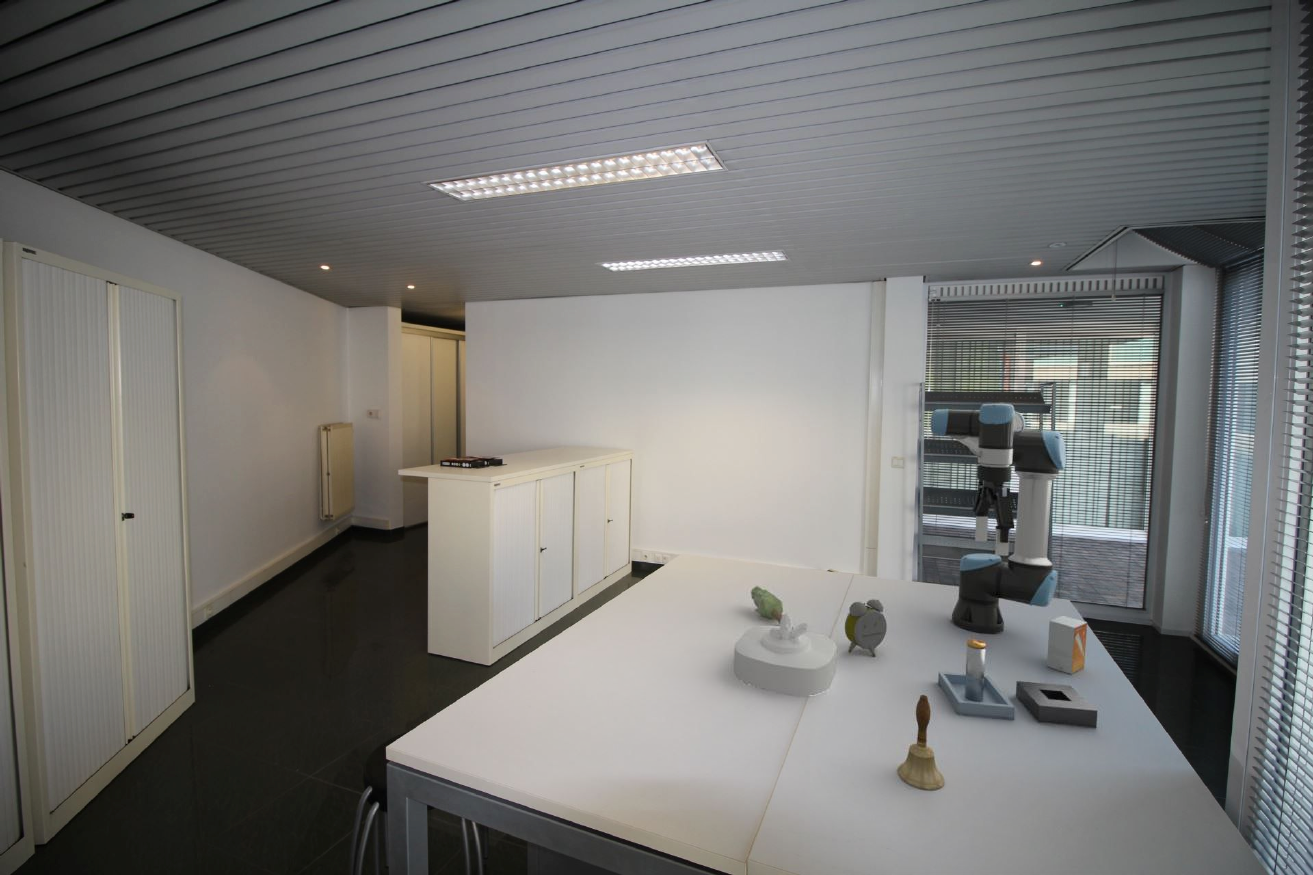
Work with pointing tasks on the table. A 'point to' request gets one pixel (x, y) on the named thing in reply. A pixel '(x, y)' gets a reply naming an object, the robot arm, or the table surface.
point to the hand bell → (921, 755)
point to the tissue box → (785, 659)
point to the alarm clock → (865, 625)
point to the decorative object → (767, 604)
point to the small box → (1066, 644)
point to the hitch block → (1056, 704)
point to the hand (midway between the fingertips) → (990, 547)
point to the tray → (990, 707)
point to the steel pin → (975, 670)
